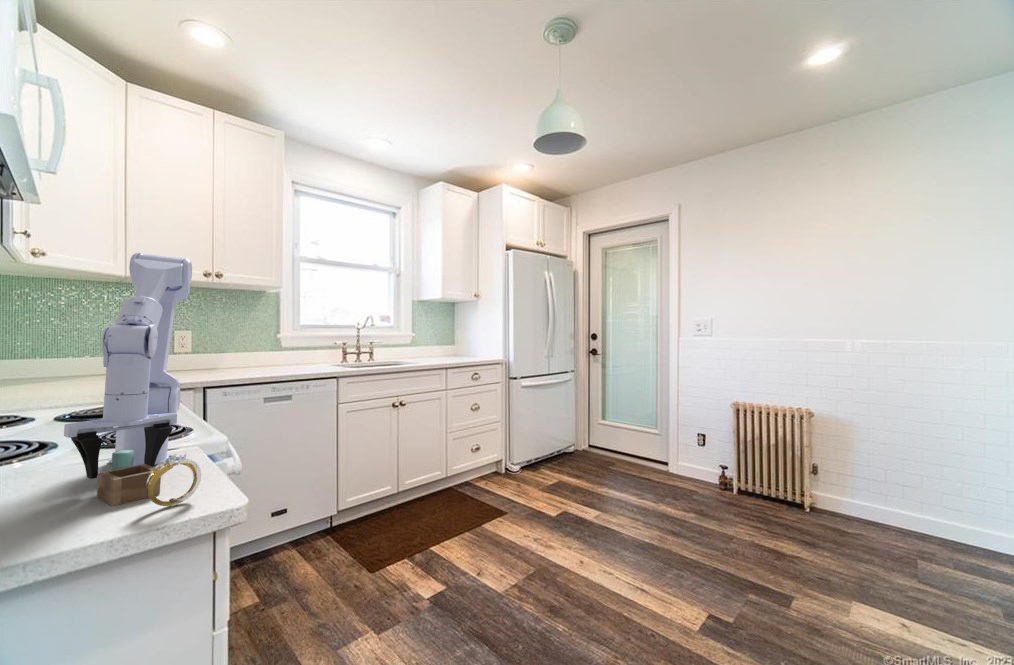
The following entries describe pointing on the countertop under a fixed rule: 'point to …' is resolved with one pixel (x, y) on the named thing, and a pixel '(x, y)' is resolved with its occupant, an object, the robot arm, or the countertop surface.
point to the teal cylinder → (122, 459)
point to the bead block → (125, 484)
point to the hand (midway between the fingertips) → (121, 471)
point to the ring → (170, 463)
